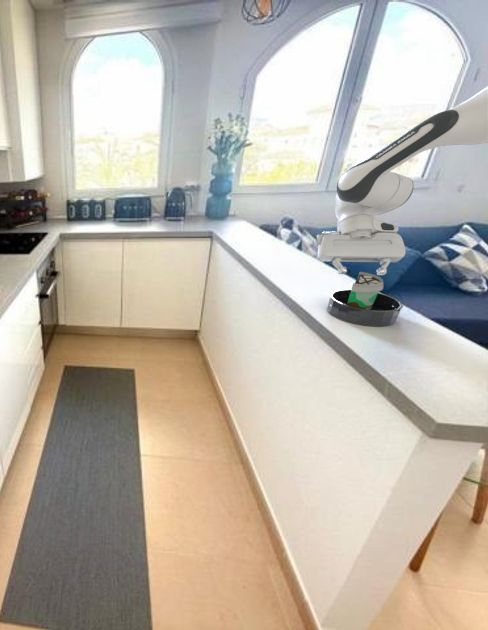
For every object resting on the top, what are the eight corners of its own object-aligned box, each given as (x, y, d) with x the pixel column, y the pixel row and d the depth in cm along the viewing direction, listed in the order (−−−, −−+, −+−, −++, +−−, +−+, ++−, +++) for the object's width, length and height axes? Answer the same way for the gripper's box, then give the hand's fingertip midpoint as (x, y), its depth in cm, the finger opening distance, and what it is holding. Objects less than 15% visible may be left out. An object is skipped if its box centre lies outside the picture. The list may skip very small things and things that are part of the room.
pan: (379, 304, 102) (384, 290, 100) (409, 328, 89) (416, 313, 87) (318, 301, 106) (322, 288, 104) (339, 324, 93) (343, 309, 91)
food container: (370, 323, 91) (383, 288, 87) (342, 317, 95) (353, 283, 91) (376, 307, 99) (388, 275, 95) (349, 302, 103) (359, 271, 99)
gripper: (320, 226, 102) (324, 268, 98) (405, 225, 96) (413, 269, 92) (312, 237, 107) (315, 277, 103) (391, 237, 102) (397, 279, 98)
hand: (362, 273), depth 98 cm, fingers open, 8 cm apart
